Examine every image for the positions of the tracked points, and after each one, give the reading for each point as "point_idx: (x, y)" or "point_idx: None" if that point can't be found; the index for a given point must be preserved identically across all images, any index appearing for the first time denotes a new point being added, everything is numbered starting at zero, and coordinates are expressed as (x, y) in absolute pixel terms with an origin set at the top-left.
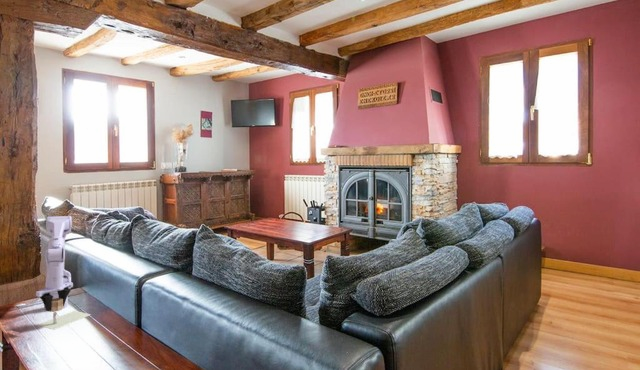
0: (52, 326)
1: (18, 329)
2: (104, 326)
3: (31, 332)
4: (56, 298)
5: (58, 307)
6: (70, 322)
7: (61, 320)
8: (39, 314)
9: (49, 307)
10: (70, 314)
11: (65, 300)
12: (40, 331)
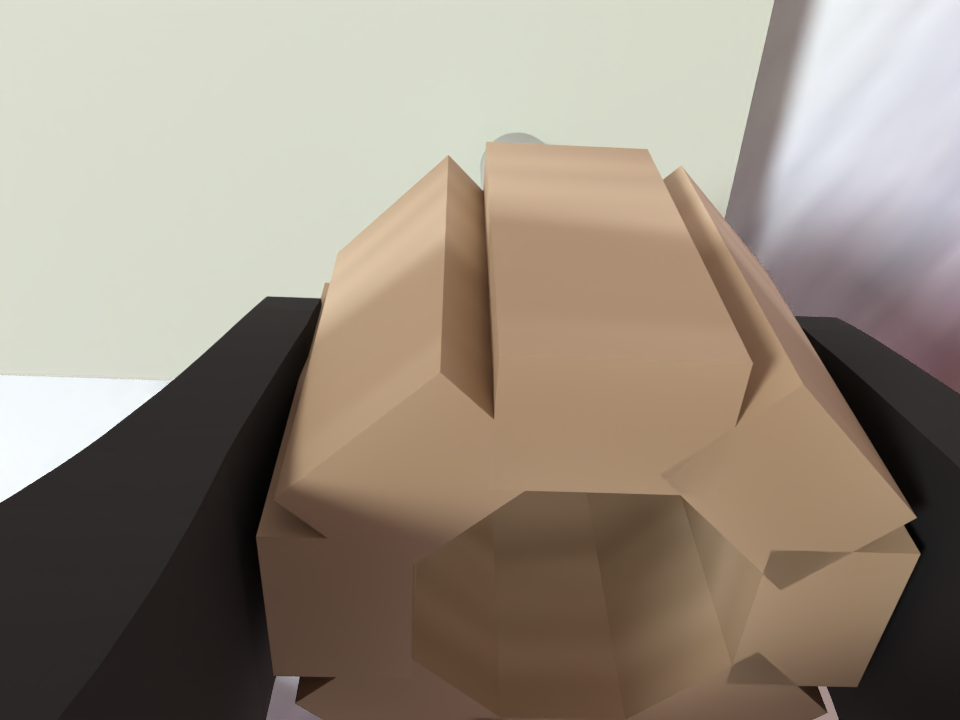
0: (660, 79)
1: None
2: None
3: (837, 301)
4: (396, 711)
5: (641, 201)
6: None
7: (337, 188)
8: (275, 699)
9: (935, 381)
10: (31, 292)
11: (169, 391)
12: (769, 202)
